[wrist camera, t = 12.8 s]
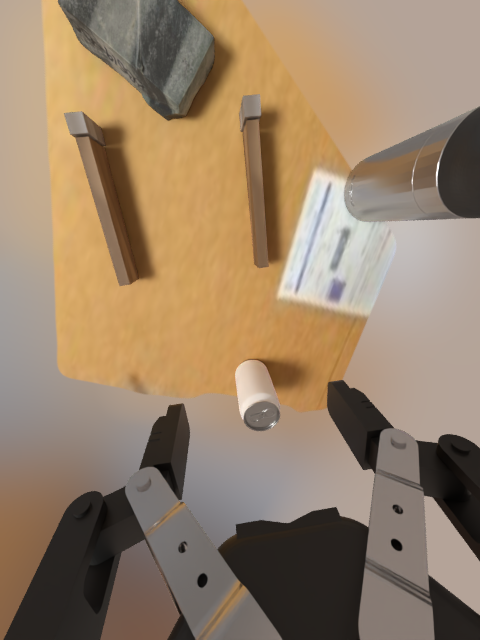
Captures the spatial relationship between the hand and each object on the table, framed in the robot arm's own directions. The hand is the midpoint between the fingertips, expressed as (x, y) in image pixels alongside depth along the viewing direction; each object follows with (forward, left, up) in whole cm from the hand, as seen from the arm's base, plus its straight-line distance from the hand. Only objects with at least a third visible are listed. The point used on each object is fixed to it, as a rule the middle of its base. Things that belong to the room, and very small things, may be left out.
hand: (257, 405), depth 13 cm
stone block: (+7, -30, -31) cm, 43 cm away
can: (-2, +18, -30) cm, 35 cm away
